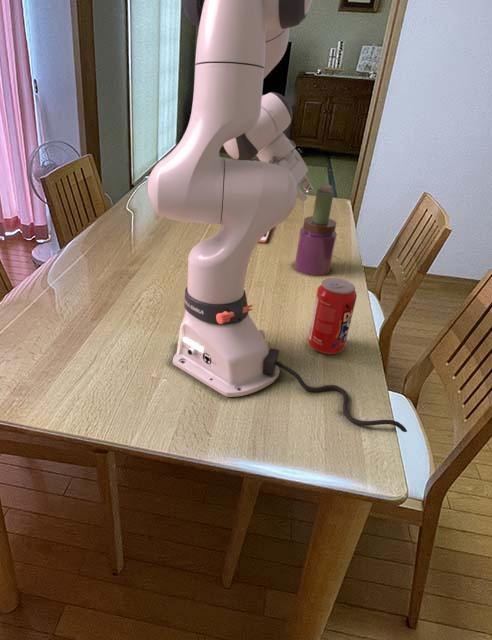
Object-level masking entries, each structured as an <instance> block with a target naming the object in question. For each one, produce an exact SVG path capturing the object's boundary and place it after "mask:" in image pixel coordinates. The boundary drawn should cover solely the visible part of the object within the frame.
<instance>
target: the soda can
mask: <svg viewBox="0 0 492 640" xmlns="http://www.w3.org/2000/svg"><path fill="white" fill-rule="evenodd" d="M357 296H358V295H357V292H356V286H355V284H354V283H352V282H351V281H349V280H346V279H343V278H338V277H329V278H326V279H323V280H322V283H321V285H319V286H318V287H317V290H316V295H315V301H314V305H313V311H312V317H311V322H310V327H309V333H308V338H307V343H308V344H309V347H311V348H312V349H313V350H315V351H317V352H319V353H322V354H326V355H334V354H339V353H341V352H342V351H344V350H345V347H346V344H347V340H348V335H349V330H350V326H351V323H352V318H353V314H354V310H355V306H356V301H357V298H358V297H357Z"/></svg>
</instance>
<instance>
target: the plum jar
mask: <svg viewBox="0 0 492 640" xmlns="http://www.w3.org/2000/svg"><path fill="white" fill-rule="evenodd" d="M312 217H313V215H312V216H306V217H305V218H304V219H303V224H302V227H301V228H300V229H299V236H298V243H297V249H296V254H295V260H294V268H295V270H296V271H298V272H300V273H301V274H304V275H308V276H325V275H327V274H328V273H330V271H331V266H332V260H333V255H334V250H335V245H336V240H337V235H338V234H337V232H336V229H337V221H336V220H334V219H332V218H330V217H329V221H328V223H327V224H317V223H314V222H313V221H312Z"/></svg>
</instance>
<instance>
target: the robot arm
mask: <svg viewBox="0 0 492 640" xmlns="http://www.w3.org/2000/svg"><path fill="white" fill-rule="evenodd" d="M312 3H313V0H181V5H182V9H183V13H184V14H185V16H186V18H187V19H188V20H189V21H190V22H191V24H192V25H195V27H197V29H198V30H197V31H198V32H197V39H196V47H195V48H196V49H195V61H194V62H195V63H194V65H195V66H194V83H193V97H192V105H191V113H190V117H189V121H188V124H187V127H186V130H185V132H184V133H183V136H182V138H181V139H180V140H179V142H178V144H176V146H175V148H173V149H172V151H171V152H170V153H169V154H168V155H166V156H165V157H163V158H162V159H161V160H159V161H158V162H157V163H156V164H155V165H154V168H153V169H152V170H151V172H150V175H149V177H148V180H147V190H146V191H147V197H148V200H149V203H150V206H151V207H152V209H153V211H154V212H155V213H156V214H157V215H158V216H159V217H161V218H164V219H165V218H166V219H169V220H172V221H177V222H180V223H190V224H191V223H192V224H213V225H220V226H223V227H222V228H221V229H220V231H218V232H217V233H215V234H213V235H211V236H210V237H209V236H208V237H207V238H205V239H203V240H201V241H199V242H198V243H197V244H196V245H194V246H192V247H193V248H191V250H190V252H189V253H188V258H187V281H186V282H187V284H186V287H185V289H184V295H183V301H184V302H183V303H184V305H183V306H184V309H185V312H184V314H183V318H182V321H181V324H180V326H179V333H178V340H177V341H178V342H177V347H176V352H175V354H174V356H173V358H172V365H173V366H175V367H176V368H178V369H180V370H181V371H183V372H185V373H186V374H188V375H190V377H193V378H195V379H196V380H198V381H199V382H200V383H202V384H204V385H205V386H207V387H209V388H211V389H213V390H214V391H215V392H217V393H219V394H220V395H222V396H224V397H227V398H234V397H235V398H237V397H244V396H247V395H250V394H253V393H256V392H258V391H261V390H263V389H265V388H267V387H268V386H270V385H271V384H273V383H274V382H275V381H276V380H277V379H278V378H279V376H280V369H282V370H283V371H286V372H287V373H289V374H290V375H292V376H293V377H294V378H295V379H296V380H297V382H298V383H299V385H300V386H301V387H302V388H303V389H304V390H306V391H309V392H312V393H319V392H324V391H328V390H335V391H337V392H339V393H341V395H342V397H343V400H342V413H343V415H344V417H345V419H347V420H348V421H350V422H351V423H353V424H355V425H358V426H366V427H367V426H368V427H369V426H371V427H372V426H380V425H381V426H382V425H391V426H394V427H396V428H397V429H399V430H400V431H401V432H403V433H407V432H408V430H407V428H406V427H405V426H404V425H403V424H402V423H400V422H399V421H396V420H394V419H376V420H362V419H361V420H360V419H357V418H354V417H352V415H351V414H350V413H349V411H348V404H349V403H348V402H349V397H348V396H349V395H348V393H347V391H345V389H343V388H342V387H340V386H339V385H335V384H328V385H323V386H318V387H313V386H312V387H311V386H309V385H308V384H306V382H305V381H304V379H303V378H302V377H301V376H300V375H299V373H297V372H296V371H295V370H293V369H292V368H291V367H289V366H287V365H285V364H283V362H280V361H278V360H279V354H280V349H279V348H278V349H277V348H273V347H270V348H269V345H268V343H267V341H266V335H265V332H264V330H262V329H259V328H258V327H257V325H256V323H255V322H254V320H253V319H252V318H251V316H250V313H249V312H251V311H252V310H253V308H252V307H253V306H254V304H249V305H248V297H247V293H246V291H245V285H246V279H247V278H246V277H247V271H248V267H249V261H250V258H251V256H252V254H253V251H254V250H255V247H256V246H257V245H258V243H260V242H259V241H260V239H261V238H262V237H263V236H264V235H265V234H266V233H267V232H268V231H270V232H271V230H273V229H274V228H275V227H277V226H278V225H280V224H282V223H284V222H285V221H286V219H288V218H289V216H290V215H291V214H292V212H293V210H294V207H295V206H296V202H297V200H298V201H299V202H300V203H301V204H302V203H304V202H306V201H307V200H308V196H307V195H306V194H305V192H306V193H307V194H310V193H311V192H313V190H314V187H313V186H312V184H311V182H310V180H309V177H308V176H307V175H306V174H307V173H308V172H309V169H308V166H307V164H306V162H305V161H304V159H303V158H302V156H301V154H300V152H299V151H298V150H297V149H296V147H297V145H296V144H295V142H294V141H293V140H291V139H289V138H288V137H287V136H286V134H285V133H284V132H285V131H286V130H287V129H288V128H289V126H290V125H291V124H292V121H293V109H292V108H293V107H292V106H291V103H290V102H289V101H288V99H287V98H286V97H285V96H284V95H282V94H280V93H278V92H274V91H270V92H268V93H266V94H263V88H264V79H265V78H266V77H267V76H268V75H269V74H270V73H271V71H273V69H275V67H277V65H278V64H279V63H280V61H281V60H282V58H283V57H284V55H285V53H286V51H287V48H288V44H289V40H290V33H291V32H290V31H291V29H290V28H294V27H296V26H297V27H298V26H299V25H300V24H301V23H303V21H304V20H305V19H306V18H307V15H308V12H309V10H310V8H311V5H312ZM222 147H223V149H224V151H225V153H226V154H227V155H228V156H229V157H230V158H229V159H226V158H224V157H221V156H220V151H221V148H222ZM255 157H257V159H258V160H253V159H254V158H255ZM299 183H300V184H301V185H302V187H303V189H304V191H305V192H303V191H302V190H301V189H300V186H299Z"/></svg>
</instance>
